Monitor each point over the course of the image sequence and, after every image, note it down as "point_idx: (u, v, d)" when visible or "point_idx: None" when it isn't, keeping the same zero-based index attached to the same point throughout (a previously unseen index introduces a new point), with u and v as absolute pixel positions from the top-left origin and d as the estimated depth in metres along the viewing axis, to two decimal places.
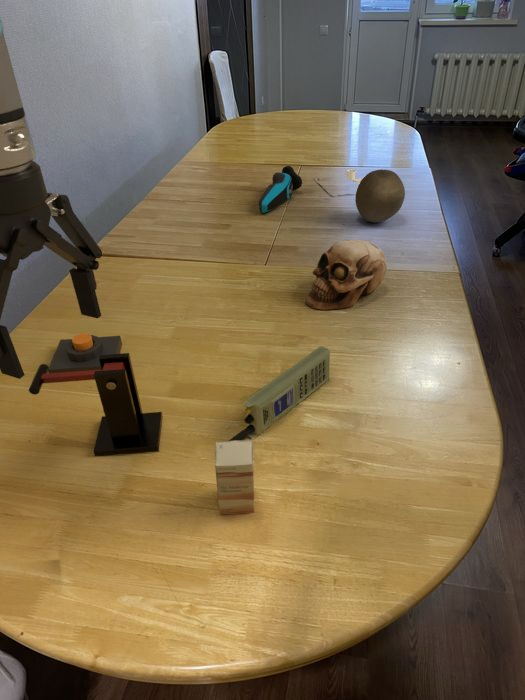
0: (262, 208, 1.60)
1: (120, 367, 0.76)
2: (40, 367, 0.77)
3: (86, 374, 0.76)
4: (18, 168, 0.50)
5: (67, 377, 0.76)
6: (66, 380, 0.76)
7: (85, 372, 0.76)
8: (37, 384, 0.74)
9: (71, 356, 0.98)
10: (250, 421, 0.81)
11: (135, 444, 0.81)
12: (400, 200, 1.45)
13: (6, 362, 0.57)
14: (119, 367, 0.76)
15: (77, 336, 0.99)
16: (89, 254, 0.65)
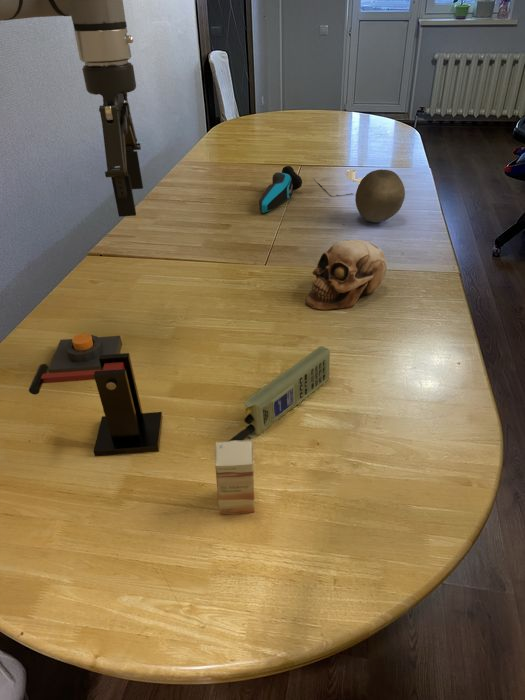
0: (262, 208, 1.60)
1: (120, 367, 0.76)
2: (40, 367, 0.77)
3: (86, 374, 0.76)
4: (127, 60, 0.77)
5: (67, 377, 0.76)
6: (66, 380, 0.76)
7: (85, 372, 0.76)
8: (37, 384, 0.74)
9: (71, 356, 0.98)
10: (250, 421, 0.81)
11: (135, 444, 0.81)
12: (400, 200, 1.45)
13: (126, 204, 0.83)
14: (119, 367, 0.76)
15: (77, 336, 0.99)
16: None
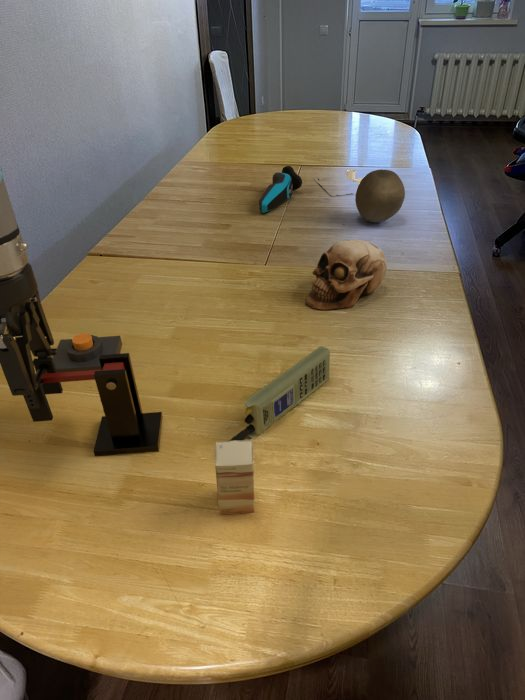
0: (262, 208, 1.60)
1: (120, 367, 0.76)
2: (40, 367, 0.77)
3: (86, 374, 0.76)
4: (22, 267, 0.66)
5: (67, 377, 0.76)
6: (66, 380, 0.76)
7: (85, 372, 0.76)
8: None
9: (71, 356, 0.98)
10: (250, 421, 0.81)
11: (135, 444, 0.81)
12: (400, 200, 1.45)
13: (40, 411, 0.75)
14: (119, 367, 0.76)
15: (77, 336, 0.99)
16: None
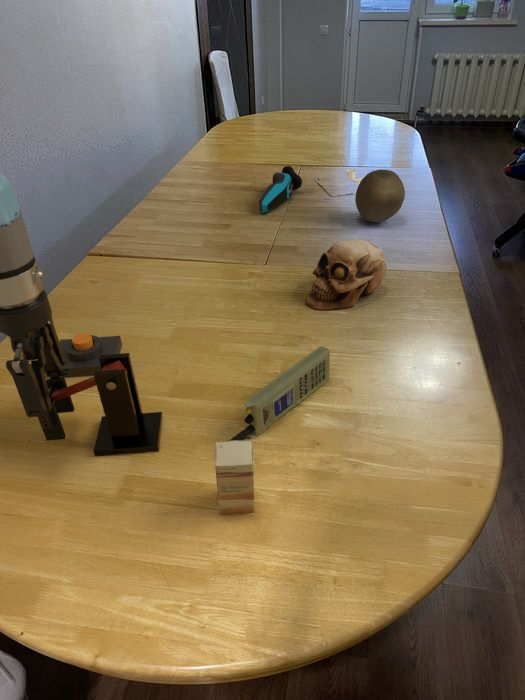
0: (262, 208, 1.60)
1: (116, 365, 0.76)
2: (50, 387, 0.80)
3: (89, 381, 0.77)
4: (37, 295, 0.68)
5: (74, 389, 0.77)
6: (74, 392, 0.78)
7: (88, 380, 0.77)
8: None
9: (71, 356, 0.98)
10: (250, 421, 0.81)
11: (135, 444, 0.81)
12: (400, 200, 1.45)
13: (54, 430, 0.78)
14: (115, 366, 0.76)
15: (77, 336, 0.99)
16: None
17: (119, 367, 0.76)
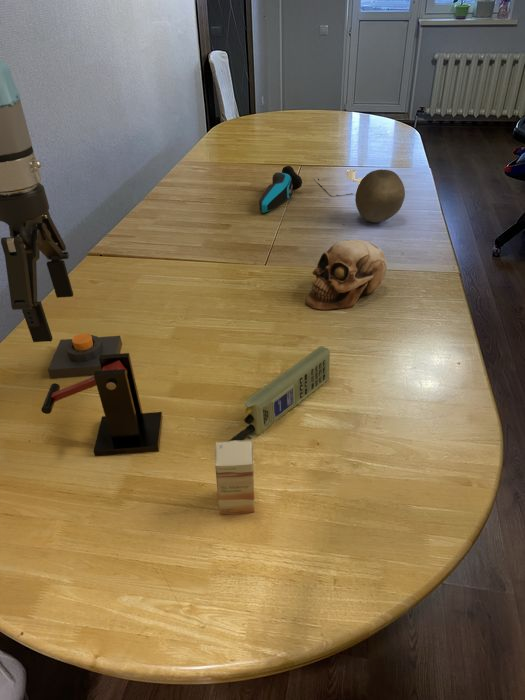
0: (262, 208, 1.60)
1: (116, 365, 0.76)
2: (50, 387, 0.80)
3: (89, 381, 0.77)
4: (35, 185, 0.71)
5: (74, 389, 0.77)
6: (74, 392, 0.78)
7: (88, 380, 0.77)
8: (47, 403, 0.77)
9: (71, 356, 0.98)
10: (250, 421, 0.81)
11: (135, 444, 0.81)
12: (400, 200, 1.45)
13: (40, 330, 0.77)
14: (115, 366, 0.76)
15: (77, 336, 0.99)
16: None
17: (119, 367, 0.76)
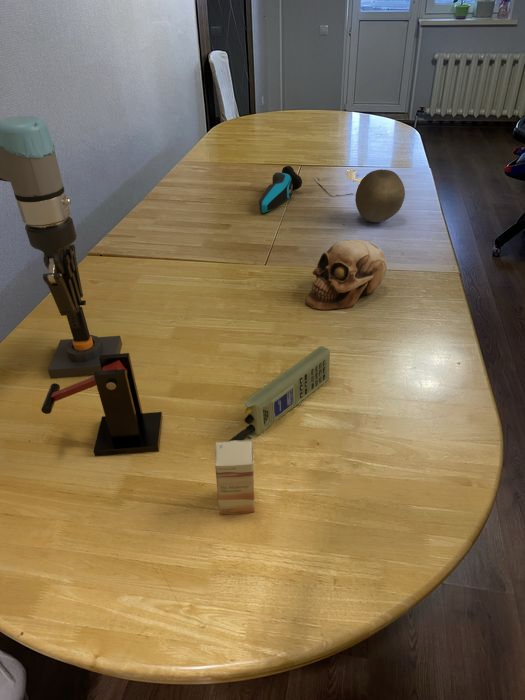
0: (262, 208, 1.60)
1: (116, 365, 0.76)
2: (50, 387, 0.80)
3: (89, 381, 0.77)
4: (66, 218, 0.85)
5: (74, 389, 0.77)
6: (74, 392, 0.78)
7: (88, 380, 0.77)
8: (47, 403, 0.77)
9: (71, 356, 0.98)
10: (250, 421, 0.81)
11: (135, 444, 0.81)
12: (400, 200, 1.45)
13: (80, 332, 0.97)
14: (115, 366, 0.76)
15: None
16: None
17: (119, 367, 0.76)
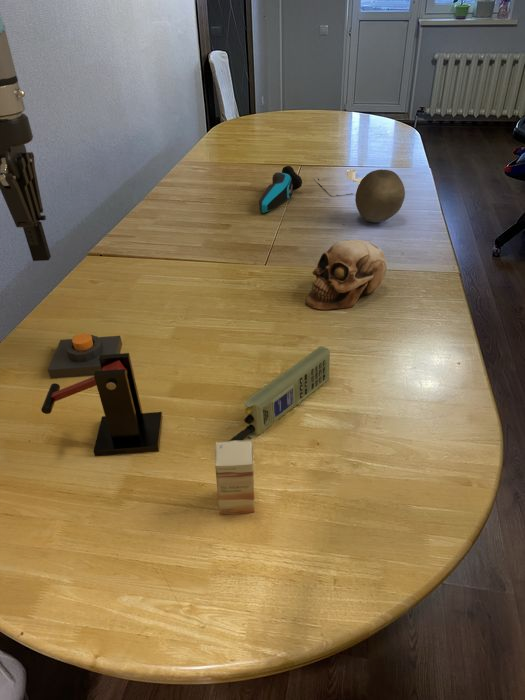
0: (262, 208, 1.60)
1: (116, 365, 0.76)
2: (50, 387, 0.80)
3: (89, 381, 0.77)
4: (20, 114, 0.77)
5: (74, 389, 0.77)
6: (74, 392, 0.78)
7: (88, 380, 0.77)
8: (47, 403, 0.77)
9: (71, 356, 0.98)
10: (250, 421, 0.81)
11: (135, 444, 0.81)
12: (400, 200, 1.45)
13: (39, 250, 0.90)
14: (115, 366, 0.76)
15: (77, 336, 0.99)
16: None
17: (119, 367, 0.76)
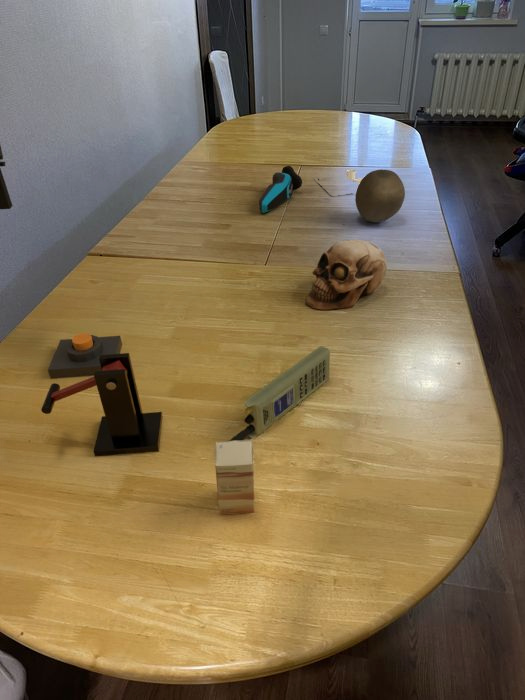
0: (262, 208, 1.60)
1: (116, 365, 0.76)
2: (50, 387, 0.80)
3: (89, 381, 0.77)
4: None
5: (74, 389, 0.77)
6: (74, 392, 0.78)
7: (88, 380, 0.77)
8: (47, 403, 0.77)
9: (71, 356, 0.98)
10: (250, 421, 0.81)
11: (135, 444, 0.81)
12: (400, 200, 1.45)
13: None
14: (115, 366, 0.76)
15: (77, 336, 0.99)
16: None
17: (119, 367, 0.76)
